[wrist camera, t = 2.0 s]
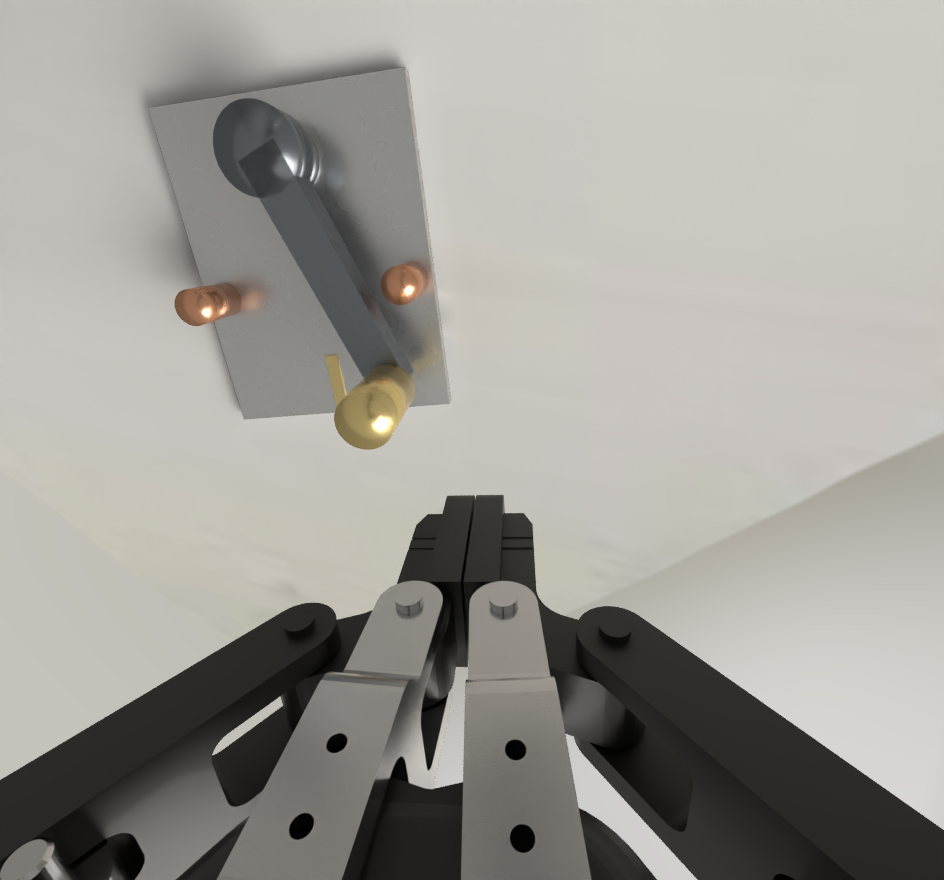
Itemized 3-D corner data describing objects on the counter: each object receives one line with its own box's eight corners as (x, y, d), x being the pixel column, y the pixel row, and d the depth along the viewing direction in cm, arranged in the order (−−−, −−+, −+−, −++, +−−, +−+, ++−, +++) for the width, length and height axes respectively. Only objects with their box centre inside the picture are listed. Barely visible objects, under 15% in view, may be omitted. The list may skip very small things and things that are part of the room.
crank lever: (218, 134, 23) (112, 101, 17) (283, 90, 22) (195, 38, 16) (380, 412, 28) (343, 463, 22) (438, 385, 27) (417, 430, 21)
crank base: (158, 111, 25) (97, 91, 21) (408, 71, 23) (388, 43, 20) (250, 414, 31) (215, 439, 28) (450, 399, 30) (441, 423, 26)
